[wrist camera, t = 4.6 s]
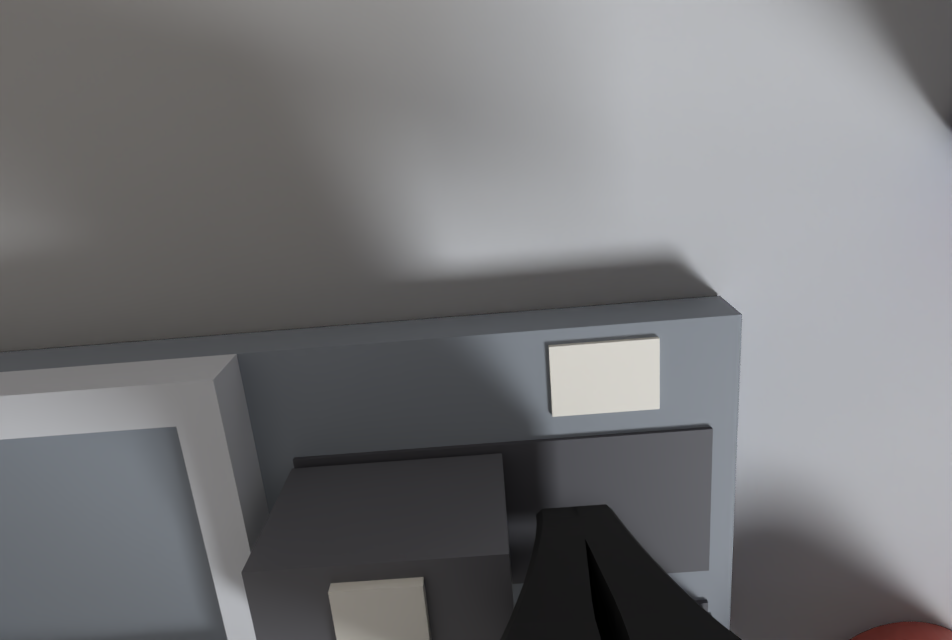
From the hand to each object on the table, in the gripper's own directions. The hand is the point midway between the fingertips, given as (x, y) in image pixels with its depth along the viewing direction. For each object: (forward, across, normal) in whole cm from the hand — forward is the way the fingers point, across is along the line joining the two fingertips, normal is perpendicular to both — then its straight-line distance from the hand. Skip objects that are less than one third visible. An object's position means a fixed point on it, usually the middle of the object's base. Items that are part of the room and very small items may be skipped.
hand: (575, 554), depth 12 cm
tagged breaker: (+1, +3, 0) cm, 3 cm away
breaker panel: (+3, +5, +3) cm, 6 cm away
